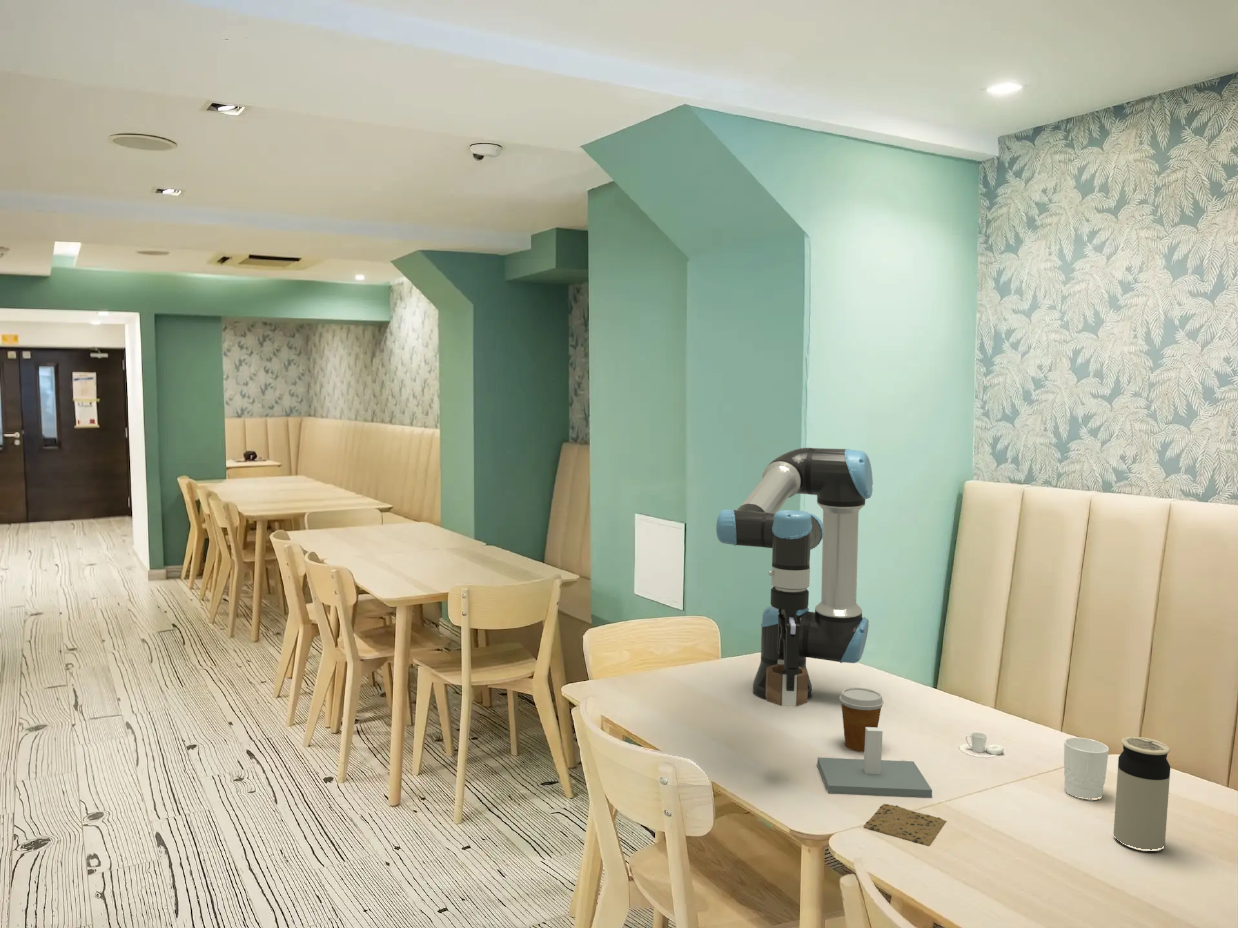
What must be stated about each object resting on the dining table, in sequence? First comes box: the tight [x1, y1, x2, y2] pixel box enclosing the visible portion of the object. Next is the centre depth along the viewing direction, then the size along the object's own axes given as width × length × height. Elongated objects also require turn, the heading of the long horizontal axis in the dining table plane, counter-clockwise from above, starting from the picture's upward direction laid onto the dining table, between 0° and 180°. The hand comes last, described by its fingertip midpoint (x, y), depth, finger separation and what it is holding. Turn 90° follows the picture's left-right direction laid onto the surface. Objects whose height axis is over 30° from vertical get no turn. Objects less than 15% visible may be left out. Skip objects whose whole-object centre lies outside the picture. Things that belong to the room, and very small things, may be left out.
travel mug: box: [1113, 736, 1171, 850], centre depth 164 cm, size 8×8×18 cm
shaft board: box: [816, 727, 933, 798], centre depth 189 cm, size 14×20×10 cm
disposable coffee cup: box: [839, 687, 885, 753], centre depth 206 cm, size 10×10×12 cm
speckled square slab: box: [863, 803, 947, 847], centre depth 170 cm, size 12×12×1 cm
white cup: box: [1063, 736, 1110, 799], centre depth 184 cm, size 8×8×10 cm
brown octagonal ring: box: [765, 664, 809, 707], centre depth 189 cm, size 8×8×6 cm
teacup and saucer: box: [958, 731, 1005, 759], centre depth 206 cm, size 9×8×4 cm
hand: (786, 697), depth 189 cm, fingers closed on brown octagonal ring, 8 cm apart
